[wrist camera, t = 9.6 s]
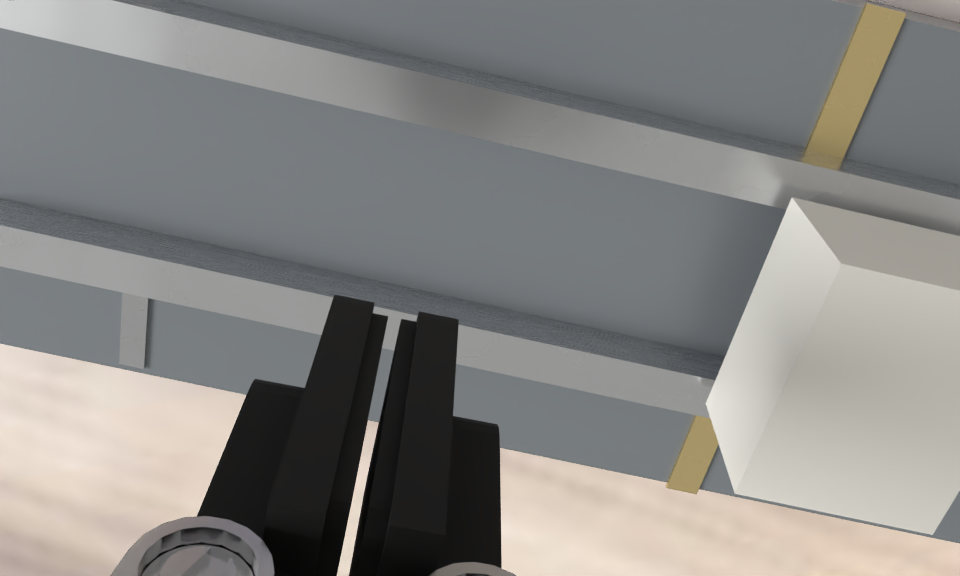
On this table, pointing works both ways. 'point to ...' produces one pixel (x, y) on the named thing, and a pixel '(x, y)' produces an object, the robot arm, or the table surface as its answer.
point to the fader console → (456, 190)
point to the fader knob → (847, 371)
